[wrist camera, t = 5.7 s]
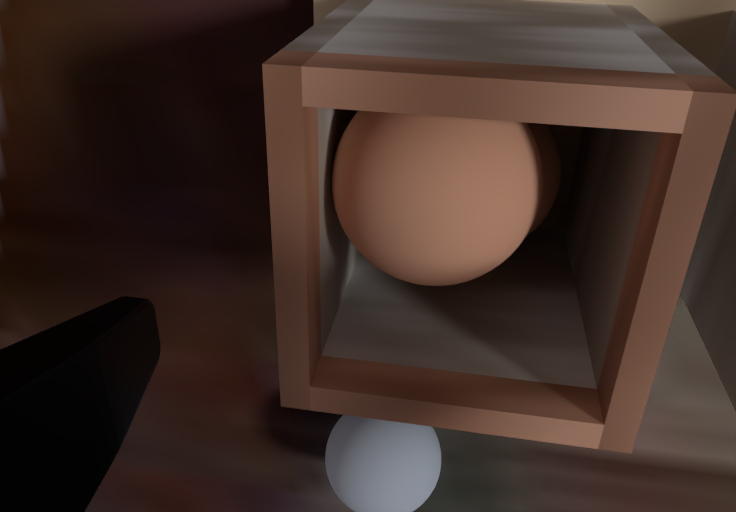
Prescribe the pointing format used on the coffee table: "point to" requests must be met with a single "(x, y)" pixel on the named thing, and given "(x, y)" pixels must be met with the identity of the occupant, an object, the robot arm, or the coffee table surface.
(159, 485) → the coffee table surface
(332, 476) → the grey ball
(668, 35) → the box
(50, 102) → the coffee table surface
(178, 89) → the coffee table surface
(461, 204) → the terracotta ball
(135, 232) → the coffee table surface
